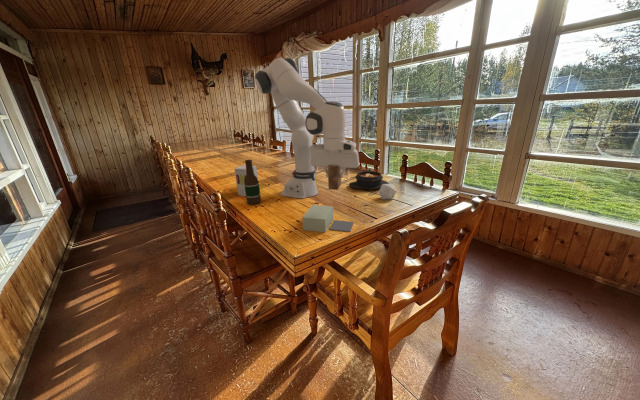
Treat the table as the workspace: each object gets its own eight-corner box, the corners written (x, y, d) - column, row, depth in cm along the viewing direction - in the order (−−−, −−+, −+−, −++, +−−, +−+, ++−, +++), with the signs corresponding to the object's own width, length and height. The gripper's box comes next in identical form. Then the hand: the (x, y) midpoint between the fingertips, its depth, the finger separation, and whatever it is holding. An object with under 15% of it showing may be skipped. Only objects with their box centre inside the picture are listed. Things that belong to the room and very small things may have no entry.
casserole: (353, 193, 151) (353, 179, 148) (345, 184, 169) (345, 171, 166) (393, 189, 155) (394, 176, 152) (381, 181, 172) (382, 168, 169)
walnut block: (328, 189, 108) (327, 165, 104) (332, 184, 115) (331, 161, 111) (337, 189, 107) (337, 165, 103) (340, 184, 114) (340, 161, 110)
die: (392, 203, 136) (401, 187, 136) (377, 195, 136) (386, 179, 136) (387, 203, 144) (396, 188, 144) (374, 195, 144) (382, 180, 144)
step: (303, 229, 110) (302, 217, 108) (313, 216, 123) (312, 205, 121) (325, 232, 108) (325, 219, 105) (333, 218, 120) (333, 206, 118)
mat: (329, 229, 110) (329, 229, 109) (334, 220, 118) (334, 220, 117) (350, 232, 107) (350, 231, 107) (353, 222, 115) (353, 221, 115)
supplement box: (237, 195, 155) (233, 168, 149) (247, 190, 163) (243, 164, 157) (250, 197, 152) (246, 169, 146) (259, 192, 160) (256, 165, 154)
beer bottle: (248, 200, 146) (242, 159, 138) (262, 199, 147) (256, 158, 138) (245, 205, 139) (239, 162, 130) (260, 204, 140) (254, 161, 131)
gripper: (307, 145, 104) (309, 178, 109) (358, 146, 99) (357, 180, 104) (312, 142, 110) (313, 174, 115) (360, 143, 104) (359, 176, 109)
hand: (334, 177), depth 109 cm, fingers closed on walnut block, 4 cm apart
